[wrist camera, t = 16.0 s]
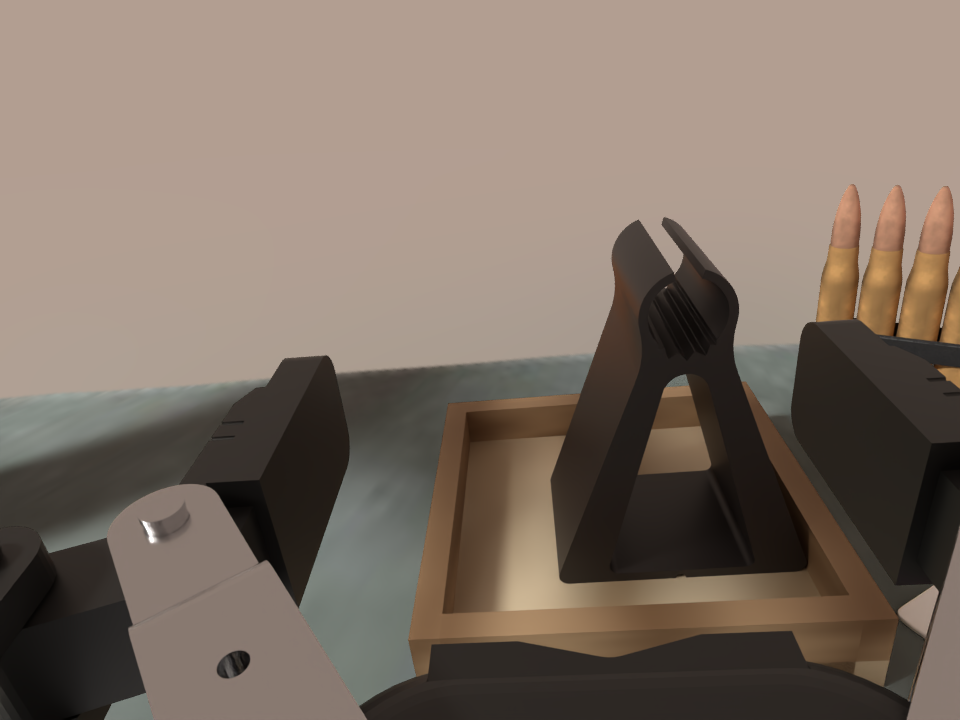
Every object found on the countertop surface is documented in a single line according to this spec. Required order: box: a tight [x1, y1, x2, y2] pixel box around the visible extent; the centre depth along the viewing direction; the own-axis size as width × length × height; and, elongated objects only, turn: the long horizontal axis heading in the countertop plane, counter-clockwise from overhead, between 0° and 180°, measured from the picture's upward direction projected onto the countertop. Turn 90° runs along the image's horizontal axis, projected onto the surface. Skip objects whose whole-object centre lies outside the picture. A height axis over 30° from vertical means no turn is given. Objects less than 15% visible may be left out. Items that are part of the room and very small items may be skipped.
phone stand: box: [550, 217, 807, 584], centre depth 25 cm, size 9×6×12 cm, turn 88°
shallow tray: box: [408, 382, 899, 687], centre depth 28 cm, size 15×15×3 cm
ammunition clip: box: [816, 184, 960, 388], centre depth 31 cm, size 11×2×12 cm, turn 57°
